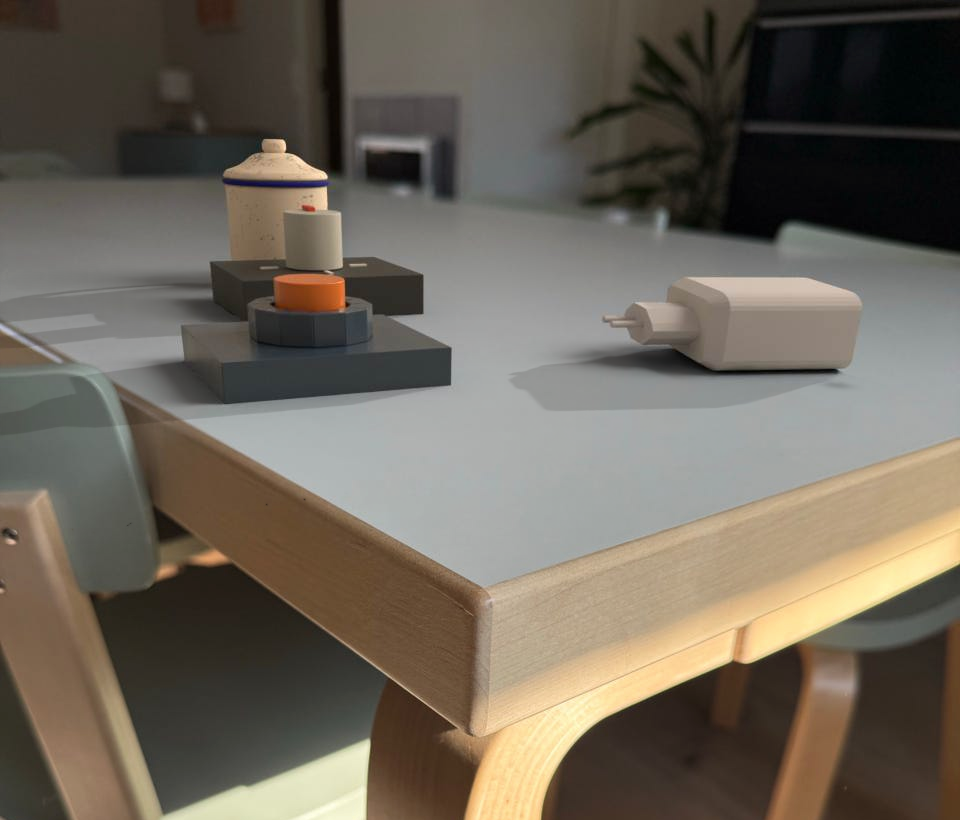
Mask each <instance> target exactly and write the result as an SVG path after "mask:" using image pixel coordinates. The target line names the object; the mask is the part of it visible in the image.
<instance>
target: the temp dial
mask: <svg viewBox="0 0 960 820" xmlns="http://www.w3.org/2000/svg"><path fill="white" fill-rule="evenodd" d="M283 223H284V240H285V256H286V267H288V268H290V269H296V270H307V271H326V270H336V269H340V268H342V267H343V258H344V257H343V233H342V231H343V229H342V212H340V211H338V210H332V209H328V210H318V209H315V207H312V206H310V205H302V209H295V210H285V211H283Z"/></svg>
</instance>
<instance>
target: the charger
mask: <svg viewBox="0 0 960 820" xmlns="http://www.w3.org/2000/svg"><path fill="white" fill-rule="evenodd" d="M862 313H863V302H862V300H861V298H860V297H859V296H858V295H857V294H856V293H855V292H853V291H852V290H848V289H844V288H841V287H838V286H835V285H833V284H829V283H825V282H821V281H820V280H815V279H813V278H808V277H773V276H772V277H771V276H770V277H767V276H766V277H764V276H763V277H762V276H760V277H757V276H756V277H755V276H754V277H746V276H745V277H740V276H739V277H737V276H736V277H735V276H734V277H732V276H731V277H730V276H729V277H728V276H727V277H721V276H719V277H718V276H717V277H715V276H714V277H711V276H709V277H708V276H707V277H706V276H703V277H702V276H701V277H699V276H696V277H695V276H694V277H693V276H688V277H687V276H684V277H680V278H679V279H677V280H676V281H675V282H673V283H672V284H670V285H669V286H668V288H667V293H666V302H665V301H660V302H658V301H655V302H654V301H653V302H652V301H651V302H650V301H649V302H648V301H645V302H644V301H643V302H642V301H641V302H640V301H638V302H636V301H634V302H633V303H631V304H630V306H628V307H627V308H626V310H625V313H624V315H602V317H601V321H602V323H605V324H606V323H609V327H610V328H614V329H615V328H616V329H617V328H619V329H620V328H623V329H624V328H625V329H627V331H628V335H629V337H630V339H631V340H633V341H635V342H636V343H638V344H639V345H641V346H669V347H671V348H672V349H674V350H676V351H678V352H679V353H680V354H683V355H685V356H687V357H688V358H690V359H692V360H693V361H695V362H696V363H698V364H700V365H702V366H703V367H706V368H707V369H709V370H711V371H714V372H716V371H718V372H719V371H721V372H722V371H777V370H778V371H780V370H781V371H783V370H786V371H787V370H791V371H792V370H842V369H846V368H848V367H849V366H850V365H851V364H852V361H853V358H854V352H855V349H856V343H857V337H858V333H859V327H860V323H861V317H862Z"/></svg>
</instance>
